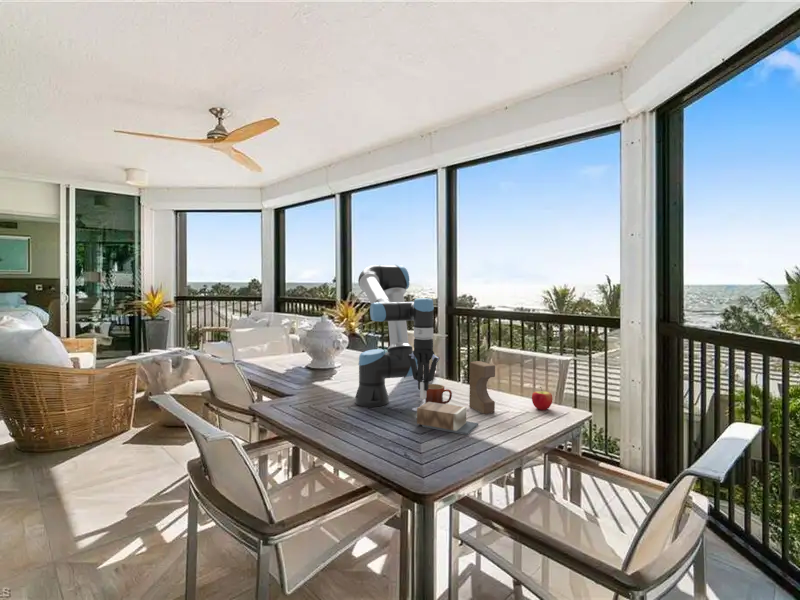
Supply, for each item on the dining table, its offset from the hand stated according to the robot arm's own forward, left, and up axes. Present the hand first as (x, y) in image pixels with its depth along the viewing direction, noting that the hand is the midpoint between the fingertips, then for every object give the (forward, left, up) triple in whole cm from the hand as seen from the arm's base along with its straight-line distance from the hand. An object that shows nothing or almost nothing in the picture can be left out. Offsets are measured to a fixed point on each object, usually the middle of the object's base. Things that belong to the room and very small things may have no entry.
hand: (423, 398), depth 173 cm
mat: (+11, +1, -9) cm, 15 cm away
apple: (+37, +40, -10) cm, 55 cm away
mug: (-1, +16, -10) cm, 19 cm away
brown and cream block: (0, 0, -6) cm, 6 cm away
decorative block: (+15, +26, -10) cm, 32 cm away
